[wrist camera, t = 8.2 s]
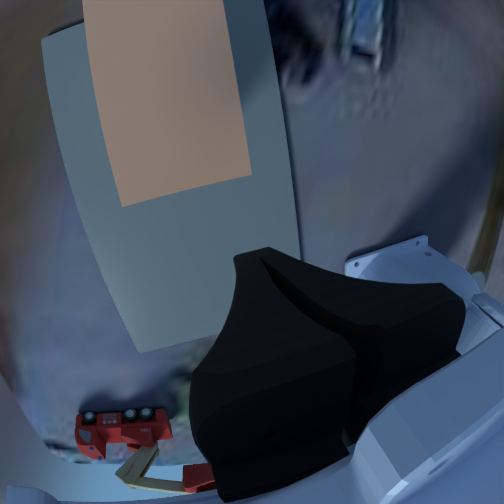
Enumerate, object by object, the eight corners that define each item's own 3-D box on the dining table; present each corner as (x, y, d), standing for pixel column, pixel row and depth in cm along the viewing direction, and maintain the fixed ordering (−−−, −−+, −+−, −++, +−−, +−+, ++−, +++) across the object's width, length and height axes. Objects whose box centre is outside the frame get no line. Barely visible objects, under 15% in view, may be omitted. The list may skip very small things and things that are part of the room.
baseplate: (258, -8, 15) (261, -11, 14) (301, 302, 26) (304, 306, 25) (44, 41, 13) (41, 39, 12) (139, 348, 24) (139, 353, 23)
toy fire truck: (72, 410, 25) (65, 491, 17) (200, 399, 28) (221, 483, 20) (84, 428, 26) (81, 504, 18) (205, 417, 30) (224, 496, 21)
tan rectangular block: (199, 1, 11) (215, -39, 7) (226, 157, 14) (252, 174, 10) (103, 22, 10) (81, -11, 6) (133, 180, 14) (122, 207, 10)
